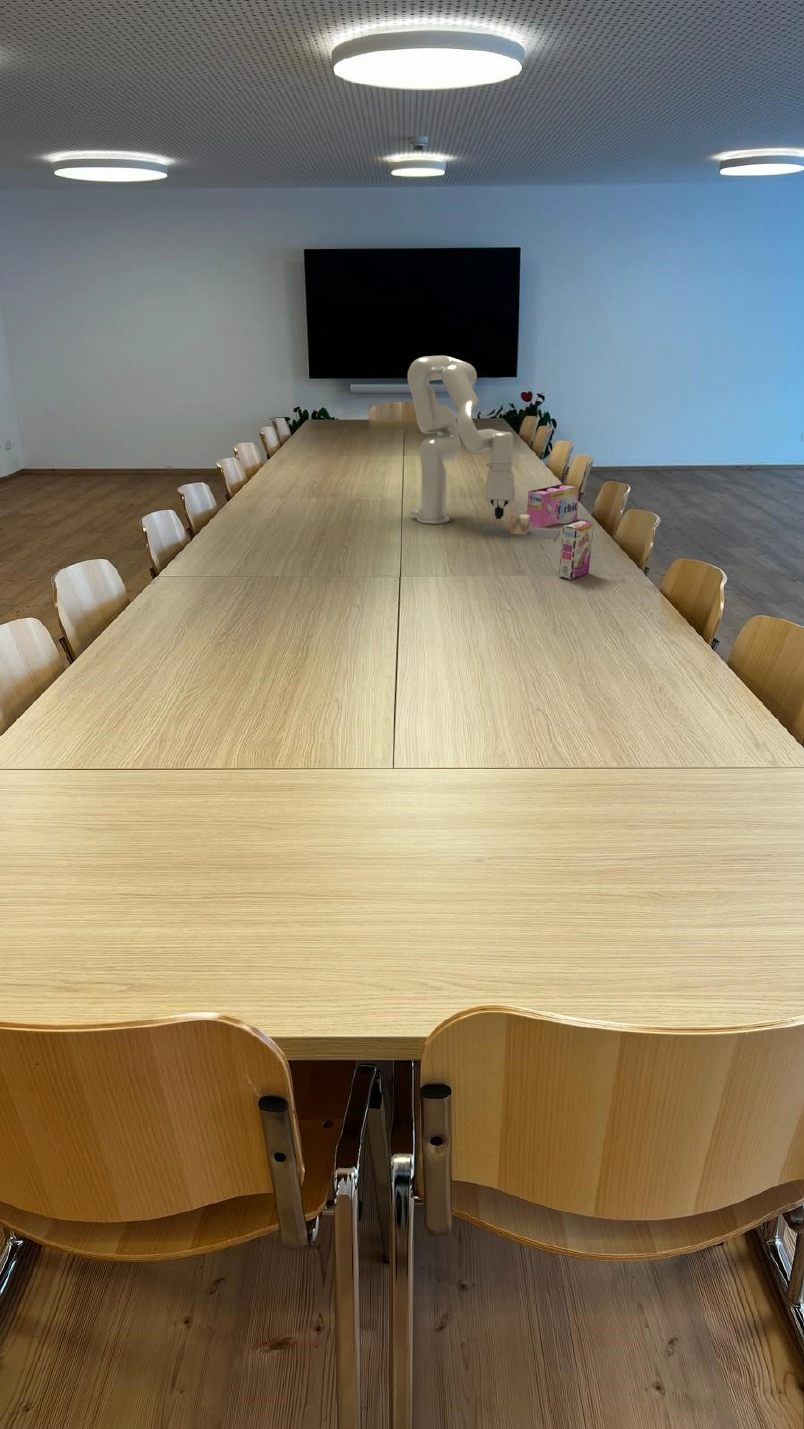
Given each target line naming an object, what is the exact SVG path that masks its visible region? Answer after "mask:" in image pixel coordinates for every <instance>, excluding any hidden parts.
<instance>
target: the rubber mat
mask: <svg viewBox="0 0 804 1429" xmlns="http://www.w3.org/2000/svg"><path fill="white" fill-rule="evenodd" d="M477 533H478V535H489V536H503V537H512V538H513V537H514V538H528V539H529V538H530V539H531V538H532V539H540V540H541V539H543V540H554V541H553V543H556V542H557V539H558V537H560V535H561V530H552V529H550V530H549V529H537V528H529V532H528V533H527V534H526V535H523V534H510V526H500V525H499V526H495V525H485V526H484V527H483V528H482V529H481V530H480V531H479V532H477Z"/></svg>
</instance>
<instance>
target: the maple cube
mask: <svg viewBox="0 0 804 1429" xmlns="http://www.w3.org/2000/svg"><path fill="white" fill-rule="evenodd" d="M529 522H530V515H527V514H522V513H513V514H512V515H511V516H510V526H509V527H510V534H523V535H526V534H527V533H528V532H529V529H530V525H529Z"/></svg>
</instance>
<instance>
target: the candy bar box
mask: <svg viewBox="0 0 804 1429" xmlns="http://www.w3.org/2000/svg"><path fill="white" fill-rule="evenodd" d="M594 525H595V522H591V521H584V520H578V521H575V522H571V523H568V524H567V525H566V524H565V525H563V526H562V527H563V528H562V538H561V548H560V549H561V550H560V561H559V571H558V578H561V579H564V580H568V581H572V580H574V579H577V578H580V577H582V576H584V575H587V574H589V572H590V563H591V562H590V560H591V553H592V544H593V533H594Z"/></svg>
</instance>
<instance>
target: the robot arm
mask: <svg viewBox="0 0 804 1429" xmlns="http://www.w3.org/2000/svg"><path fill="white" fill-rule="evenodd" d="M477 377H478V375H477V371H476V368H475V367H474V366H473V365H472V364H470V363H468V362H467V361H463V360H461V359H457V358H454V357H451V356H447V355H431V356H430V355H429V356H427V355H425V356H421V357H418V358H417V359H415V360H414V361H413V362H411V364H410V366H409V368H408V370H407V384H408V387H409V390H410V393H411V397H412V401H413V406H414V411H415V416H416V421H417V426H418V428H419V430H420V431H421V433H423V434H434V433H435V434H437V435H435V436H430V437H427V438H425V439H424V440H423V441H422V442H421V444H420V446H419V452H418V453H419V458H420V464H421V465H420V466H421V467H420V468H421V489H420V490H421V495H420V496H421V497H420V498H421V499H420V508H418V509H417V508H411V509H410V514H411V515H418V516H417V517H416V521H417V522H418V523H421V524H422V523H423V524H427V525H428V524H430V525H440V524H446V523H448V522H450V517H449V516H447V514H446V510H447V476H448V475H447V469H446V467H445V463H444V462H447V461H452V460H455V459H456V458H457V457H458V456H460V452H461V441H462V443H463V445H464V446H465V448H466V449H467V450H468V451H469V452H471V453H474V454H476V453H482V452H489V451H491V453H490V456H491V457H490V463H487V464H486V467H487V468H489V470H488V471H487V476H486V482H485V483H486V484H485V494H484V495H485V496H484V497H485V499H484V502H487V503H490V504H491V505H492V506H493V508H494V517H495V519H496V520H501V519H502V518H503V517H504V512H505V511H504V510H505V507H506V506H507V505H510V504H514V503H515V492H516V491H515V476H514V471H513V470H512V469H513V449H514V448H513V446H514V435H513V433H512V432H510V431H499V430H497V429H493V428H485V429H477V427H476V425H475V423H474V420H473V417H472V416H473V414H472V413H473V409H474V408H475V407H476V406H477V405H478V404H479V398H478V396H477V395H476V394H477V393H476V392H475V390H474V388H473V386H474V385H475V383H476V382H477V379H478V378H477ZM440 380H441V381H442V383H443V385H444V388H445V389H446V391H447V393H448V395H449V398H450V399H451V401H452V403H453V405H454V407H455V409H456V411H457V412H456V416H455V413H454V412H453V410H452V409H451V408H450V407H448V406H447V405H438V402H437V398H436V397H437V396H436V394H435V390H434V388H433V387H432V385H431V384H430V382H431V381H440ZM460 439H461V440H460ZM499 501H500V503H499Z"/></svg>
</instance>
